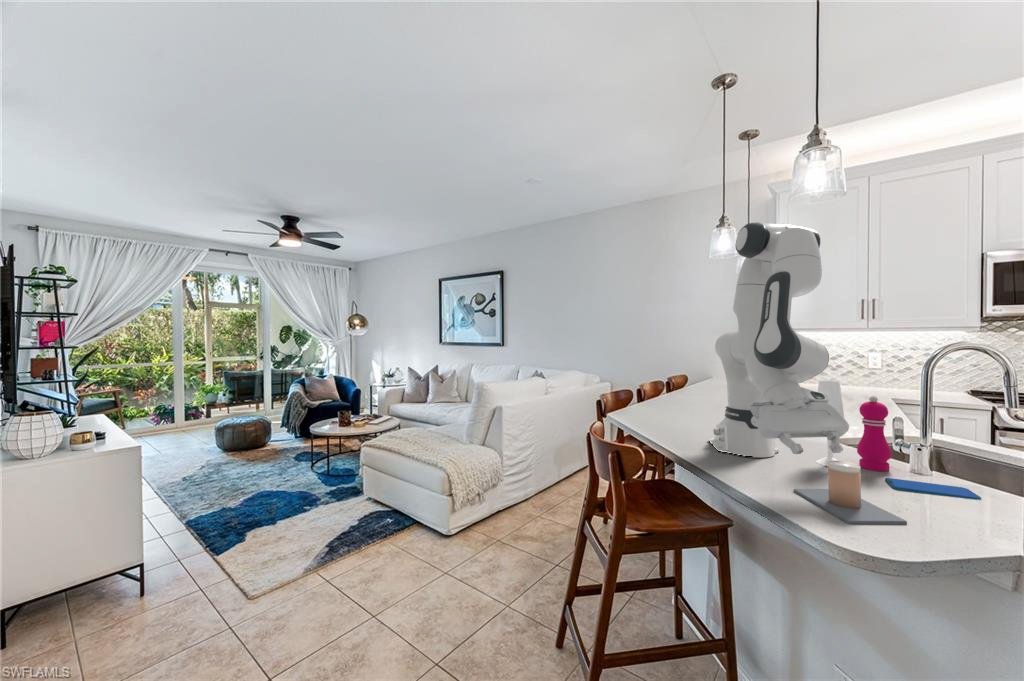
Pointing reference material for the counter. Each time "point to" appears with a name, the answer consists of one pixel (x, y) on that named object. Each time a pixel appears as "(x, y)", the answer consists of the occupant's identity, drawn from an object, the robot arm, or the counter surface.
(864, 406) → the pepper mill
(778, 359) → the robot arm
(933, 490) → the smartphone
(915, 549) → the counter surface
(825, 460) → the champagne flute
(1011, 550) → the counter surface
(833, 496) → the terracotta jar
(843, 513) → the slate mat
